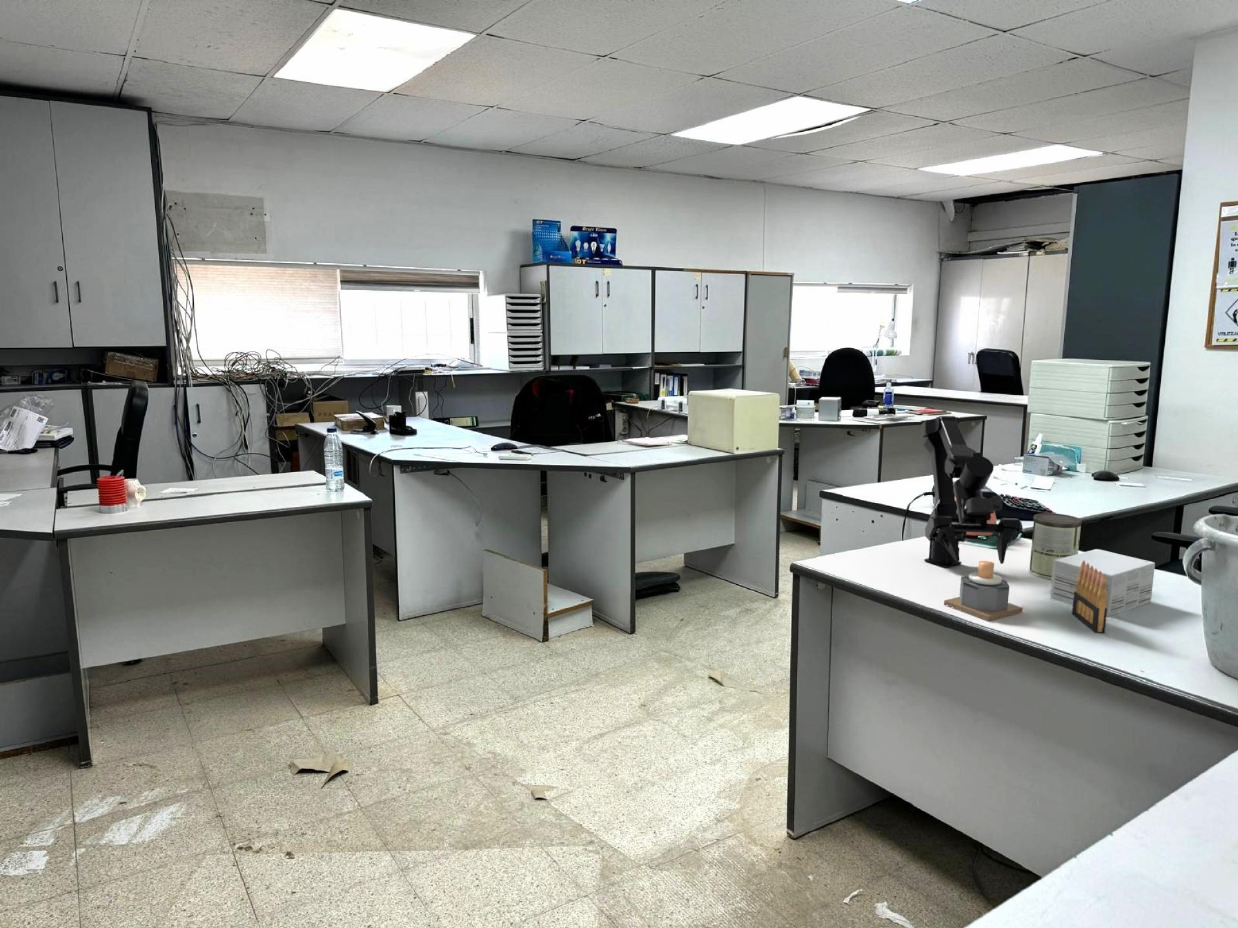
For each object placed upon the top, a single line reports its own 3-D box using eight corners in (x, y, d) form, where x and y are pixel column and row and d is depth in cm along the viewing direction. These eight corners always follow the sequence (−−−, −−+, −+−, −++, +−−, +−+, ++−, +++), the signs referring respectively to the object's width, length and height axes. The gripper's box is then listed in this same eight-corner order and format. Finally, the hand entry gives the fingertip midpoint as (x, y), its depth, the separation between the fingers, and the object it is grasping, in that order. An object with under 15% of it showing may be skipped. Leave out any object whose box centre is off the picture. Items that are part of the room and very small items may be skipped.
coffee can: (1021, 567, 205) (1026, 512, 202) (1065, 568, 204) (1070, 513, 201) (1038, 580, 195) (1044, 522, 192) (1084, 581, 194) (1090, 523, 191)
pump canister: (943, 604, 178) (945, 578, 177) (977, 596, 183) (980, 570, 182) (987, 620, 168) (990, 593, 167) (1022, 612, 174) (1024, 584, 172)
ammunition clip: (1105, 633, 162) (1111, 575, 160) (1095, 633, 162) (1101, 574, 160) (1080, 614, 172) (1086, 559, 170) (1071, 613, 173) (1077, 559, 170)
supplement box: (1091, 586, 191) (1095, 547, 189) (1151, 603, 179) (1156, 562, 178) (1048, 598, 182) (1052, 558, 181) (1108, 617, 171) (1112, 574, 169)
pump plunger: (960, 599, 177) (963, 561, 175) (980, 595, 180) (983, 557, 178) (986, 609, 171) (989, 569, 170) (1006, 604, 174) (1009, 564, 173)
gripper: (935, 480, 181) (944, 542, 173) (1023, 483, 179) (1037, 545, 170) (924, 506, 191) (932, 566, 182) (1008, 509, 188) (1020, 570, 179)
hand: (980, 562), depth 178 cm, fingers open, 9 cm apart
